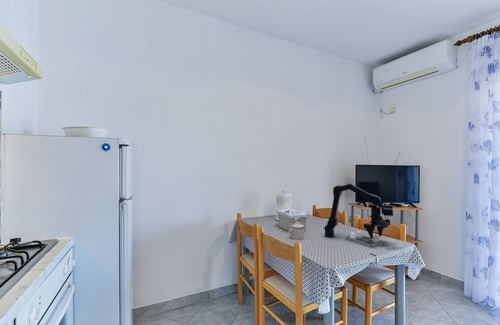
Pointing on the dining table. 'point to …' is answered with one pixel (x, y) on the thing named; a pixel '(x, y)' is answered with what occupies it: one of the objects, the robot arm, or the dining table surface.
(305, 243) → the dining table surface
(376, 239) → the brown egg
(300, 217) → the storage basket
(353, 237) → the cream egg
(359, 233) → the cream egg
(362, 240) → the egg tray
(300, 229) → the teacup with lid
